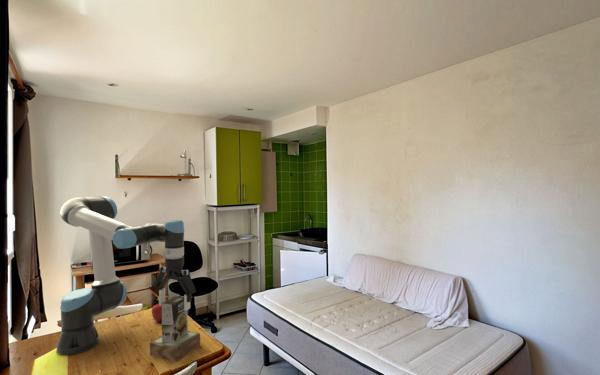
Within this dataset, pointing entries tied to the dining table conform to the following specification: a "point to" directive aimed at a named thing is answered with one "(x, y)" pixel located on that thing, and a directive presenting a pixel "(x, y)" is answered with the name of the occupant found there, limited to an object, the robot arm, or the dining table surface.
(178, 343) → the brown and green tray
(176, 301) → the coffee box
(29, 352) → the dining table surface
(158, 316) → the vegetable
